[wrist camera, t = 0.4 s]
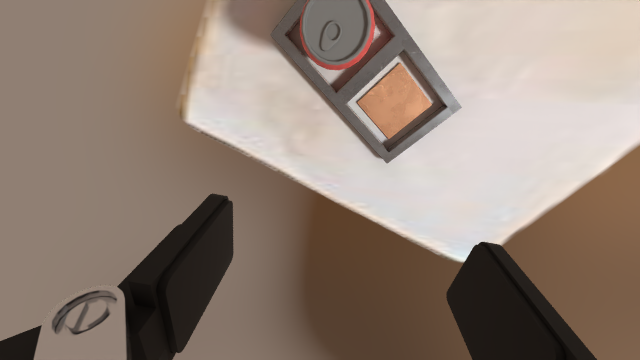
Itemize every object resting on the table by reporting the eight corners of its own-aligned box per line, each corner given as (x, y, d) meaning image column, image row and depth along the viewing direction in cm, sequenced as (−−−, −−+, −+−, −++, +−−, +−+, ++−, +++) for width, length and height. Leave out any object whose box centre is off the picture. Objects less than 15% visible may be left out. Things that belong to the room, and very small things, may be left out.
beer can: (302, 46, 31) (280, 42, 20) (330, -10, 28) (322, -49, 17) (346, 76, 32) (346, 87, 21) (377, 25, 29) (396, 8, 18)
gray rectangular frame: (342, -53, 26) (342, -59, 25) (456, 105, 32) (461, 107, 31) (273, 35, 30) (270, 34, 29) (385, 159, 37) (387, 163, 35)
